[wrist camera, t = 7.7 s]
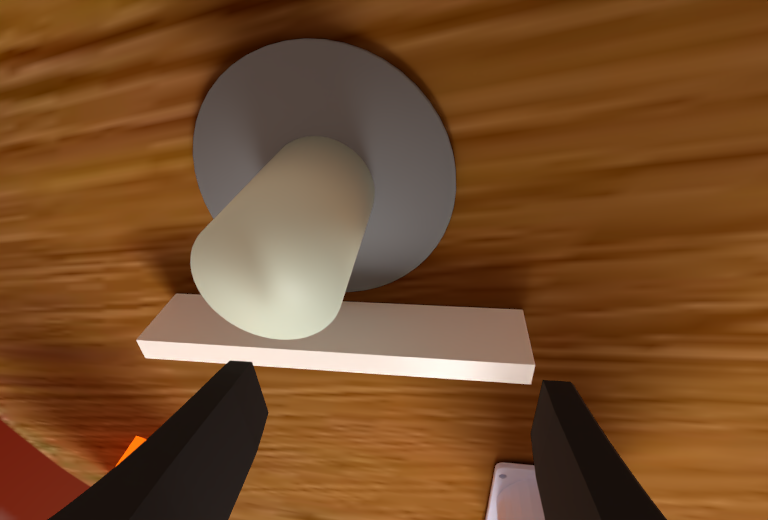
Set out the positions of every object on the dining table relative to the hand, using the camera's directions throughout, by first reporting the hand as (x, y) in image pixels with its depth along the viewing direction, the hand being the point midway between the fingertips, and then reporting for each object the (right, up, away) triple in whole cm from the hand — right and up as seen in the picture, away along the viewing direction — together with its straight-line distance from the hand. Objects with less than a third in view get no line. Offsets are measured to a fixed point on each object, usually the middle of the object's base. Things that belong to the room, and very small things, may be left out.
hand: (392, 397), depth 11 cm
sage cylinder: (-3, +6, +7) cm, 10 cm away
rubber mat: (-3, +7, +7) cm, 10 cm away
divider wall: (-2, +1, +11) cm, 11 cm away
